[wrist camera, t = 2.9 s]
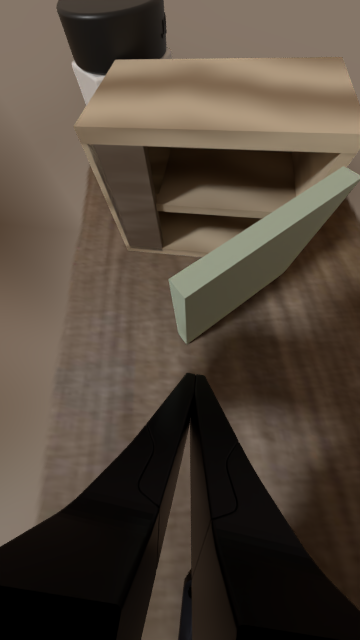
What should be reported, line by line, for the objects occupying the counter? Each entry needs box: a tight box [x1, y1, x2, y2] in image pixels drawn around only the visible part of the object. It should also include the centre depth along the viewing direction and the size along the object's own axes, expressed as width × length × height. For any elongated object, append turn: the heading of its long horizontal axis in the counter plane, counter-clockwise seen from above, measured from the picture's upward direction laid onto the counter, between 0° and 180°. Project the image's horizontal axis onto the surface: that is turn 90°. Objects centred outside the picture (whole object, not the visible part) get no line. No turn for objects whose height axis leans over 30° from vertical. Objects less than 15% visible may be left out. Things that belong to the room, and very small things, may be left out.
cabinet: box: [74, 57, 360, 257], centre depth 16 cm, size 9×16×10 cm, turn 81°
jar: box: [57, 0, 172, 106], centre depth 19 cm, size 9×8×12 cm
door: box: [169, 166, 360, 344], centre depth 13 cm, size 1×12×9 cm, turn 127°
